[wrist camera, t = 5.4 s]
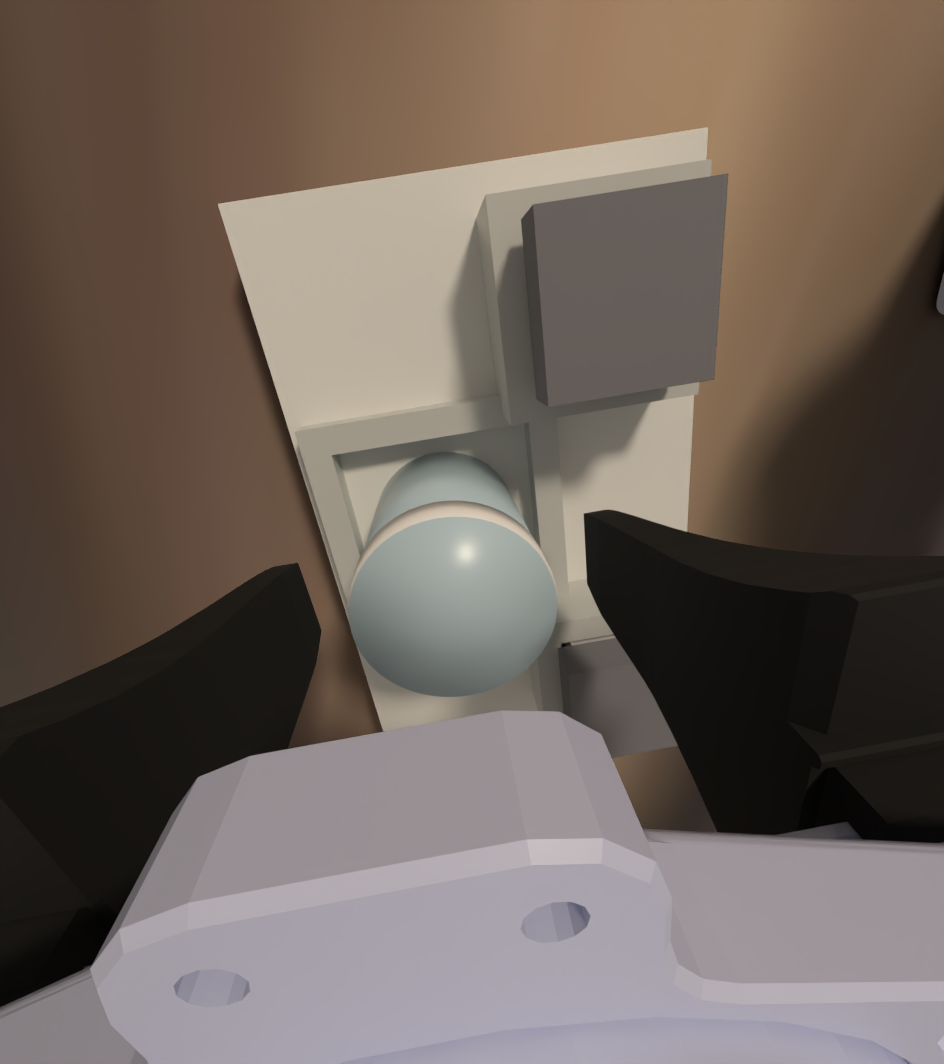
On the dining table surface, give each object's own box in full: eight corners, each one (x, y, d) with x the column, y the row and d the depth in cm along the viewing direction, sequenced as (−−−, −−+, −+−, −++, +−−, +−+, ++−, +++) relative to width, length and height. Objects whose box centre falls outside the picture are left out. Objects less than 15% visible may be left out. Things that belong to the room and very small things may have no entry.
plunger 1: (653, 212, 11) (728, 173, 8) (651, 369, 12) (714, 379, 10) (507, 236, 11) (533, 204, 8) (522, 390, 12) (548, 407, 10)
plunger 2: (647, 596, 16) (694, 652, 13) (647, 677, 17) (688, 744, 14) (544, 614, 15) (568, 675, 13) (552, 694, 17) (575, 764, 14)
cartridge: (507, 439, 14) (551, 500, 9) (522, 567, 16) (566, 679, 11) (359, 463, 14) (319, 539, 9) (392, 590, 16) (374, 713, 11)
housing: (668, 156, 13) (769, 82, 9) (655, 673, 21) (707, 751, 17) (248, 222, 13) (169, 175, 9) (394, 719, 20) (386, 809, 17)
